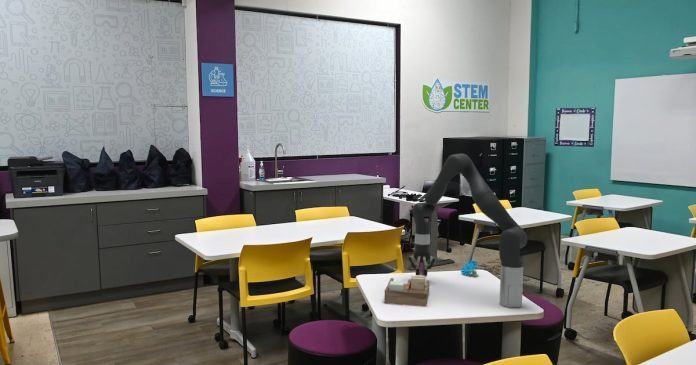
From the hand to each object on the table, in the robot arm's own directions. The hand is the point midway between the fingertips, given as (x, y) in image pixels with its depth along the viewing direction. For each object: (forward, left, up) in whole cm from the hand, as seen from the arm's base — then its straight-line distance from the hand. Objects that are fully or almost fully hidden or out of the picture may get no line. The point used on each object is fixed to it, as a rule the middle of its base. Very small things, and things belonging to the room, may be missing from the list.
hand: (421, 276), depth 269 cm
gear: (+10, -29, -3) cm, 31 cm away
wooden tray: (-25, +14, -3) cm, 28 cm away
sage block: (-29, +20, 0) cm, 36 cm away
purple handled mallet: (-11, +4, -2) cm, 12 cm away
